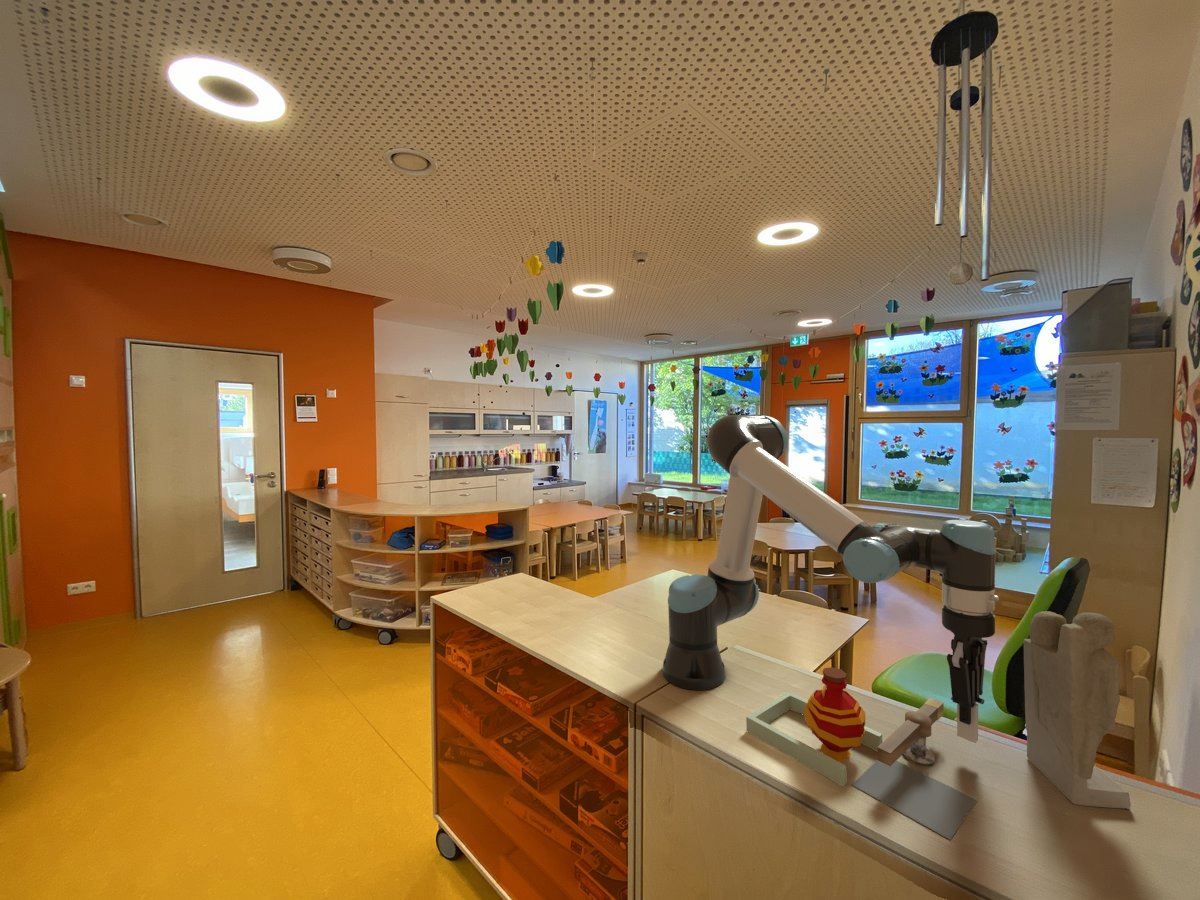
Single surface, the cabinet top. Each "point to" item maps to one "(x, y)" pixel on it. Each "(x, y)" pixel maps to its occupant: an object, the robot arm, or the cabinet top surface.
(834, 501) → the robot arm
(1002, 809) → the cabinet top surface
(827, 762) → the channel
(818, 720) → the potion bottle
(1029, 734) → the sculpture
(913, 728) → the turn bar
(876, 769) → the mat
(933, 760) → the metal pivot base
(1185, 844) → the cabinet top surface
